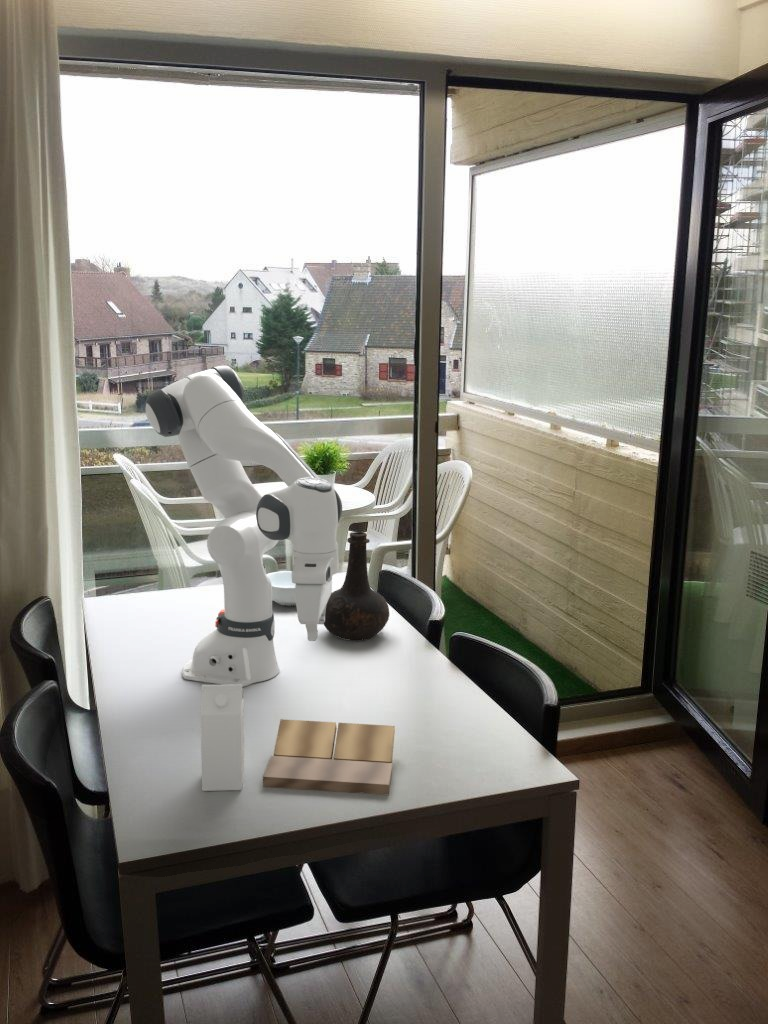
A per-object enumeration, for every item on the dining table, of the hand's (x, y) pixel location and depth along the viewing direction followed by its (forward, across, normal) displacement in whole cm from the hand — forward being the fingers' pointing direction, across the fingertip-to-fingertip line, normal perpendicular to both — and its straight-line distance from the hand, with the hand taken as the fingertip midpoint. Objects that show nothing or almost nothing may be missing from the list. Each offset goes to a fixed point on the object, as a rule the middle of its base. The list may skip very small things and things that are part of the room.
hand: (316, 631), depth 181 cm
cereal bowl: (+23, -87, -22) cm, 92 cm away
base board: (+24, +14, +4) cm, 28 cm away
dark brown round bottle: (+23, -62, 0) cm, 66 cm away
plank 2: (+22, +5, +10) cm, 24 cm away
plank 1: (+21, +5, -2) cm, 22 cm away
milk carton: (+24, +17, -15) cm, 33 cm away
